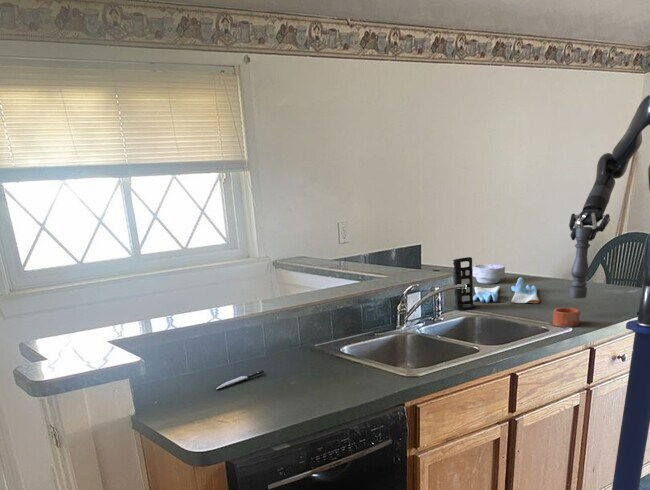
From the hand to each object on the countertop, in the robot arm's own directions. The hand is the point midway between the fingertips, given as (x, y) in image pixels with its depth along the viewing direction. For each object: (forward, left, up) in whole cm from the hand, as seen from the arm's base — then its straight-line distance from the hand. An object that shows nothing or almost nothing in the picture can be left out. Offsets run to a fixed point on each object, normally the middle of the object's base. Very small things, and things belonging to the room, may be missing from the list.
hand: (581, 238), depth 236 cm
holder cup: (-6, +9, -29) cm, 31 cm away
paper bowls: (+78, -14, -29) cm, 84 cm away
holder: (+37, +26, -29) cm, 53 cm away
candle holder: (+1, -2, -21) cm, 22 cm away
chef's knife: (-13, +134, -29) cm, 137 cm away
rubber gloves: (+47, -2, -29) cm, 55 cm away
